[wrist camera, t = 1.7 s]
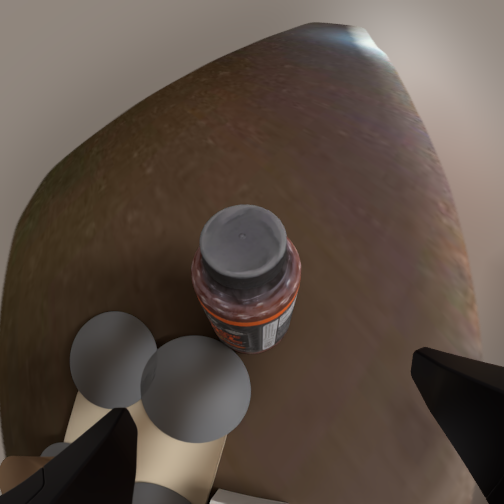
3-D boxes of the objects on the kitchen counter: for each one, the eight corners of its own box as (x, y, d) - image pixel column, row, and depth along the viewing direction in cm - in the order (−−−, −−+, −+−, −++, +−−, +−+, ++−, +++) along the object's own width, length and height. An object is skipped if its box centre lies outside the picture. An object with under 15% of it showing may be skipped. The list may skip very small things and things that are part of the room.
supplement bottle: (197, 325, 23) (150, 247, 13) (244, 271, 25) (232, 171, 16) (258, 372, 21) (253, 325, 11) (304, 311, 23) (332, 224, 14)
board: (262, 353, 22) (262, 324, 16) (198, 575, 12) (175, 617, 6) (96, 305, 24) (52, 265, 18) (40, 496, 14) (-15, 500, 8)
